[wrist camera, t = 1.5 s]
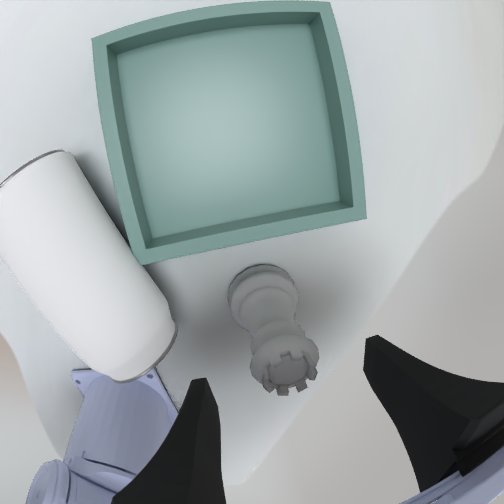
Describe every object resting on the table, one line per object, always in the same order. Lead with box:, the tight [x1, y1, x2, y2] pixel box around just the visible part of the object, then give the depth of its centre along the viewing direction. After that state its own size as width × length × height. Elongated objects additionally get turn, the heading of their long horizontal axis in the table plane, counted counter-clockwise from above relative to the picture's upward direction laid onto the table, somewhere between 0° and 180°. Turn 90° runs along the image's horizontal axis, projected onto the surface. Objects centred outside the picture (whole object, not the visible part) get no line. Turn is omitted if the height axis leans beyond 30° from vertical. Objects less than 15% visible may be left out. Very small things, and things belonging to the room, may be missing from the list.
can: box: [0, 150, 178, 383], centre depth 14 cm, size 6×6×12 cm
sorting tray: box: [92, 1, 367, 265], centre depth 14 cm, size 13×13×2 cm
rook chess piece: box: [228, 265, 319, 396], centre depth 16 cm, size 4×4×8 cm
